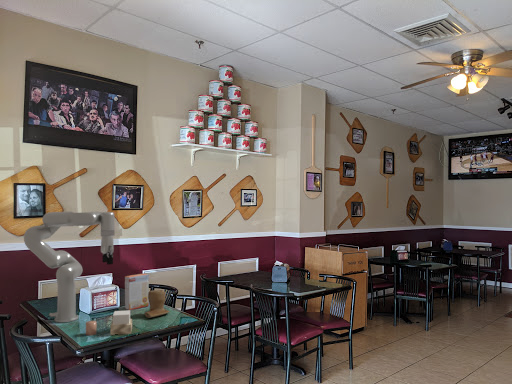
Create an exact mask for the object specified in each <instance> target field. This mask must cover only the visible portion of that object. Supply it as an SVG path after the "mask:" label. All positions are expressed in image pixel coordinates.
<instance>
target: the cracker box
mask: <svg viewBox="0 0 512 384" xmlns="http://www.w3.org/2000/svg"><path fill="white" fill-rule="evenodd" d="M149 275H150V274H148V273H137V274H131V275H126V276H124V309H125V310H126V311H127V310H130V311H132V310H137V309H141V308H145V307H147V308H148V307H150V304H149V300H148V292H149V291H150V289H149V287H150V286H149V285H150V284H149V280H150V277H149Z"/></svg>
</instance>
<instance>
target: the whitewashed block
mask: <svg viewBox="0 0 512 384" xmlns="http://www.w3.org/2000/svg"><path fill="white" fill-rule="evenodd" d="M130 319H131V310H127V309H126V310H114V312H113V315H112V321H113V325H122V324H129V322H130Z"/></svg>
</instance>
